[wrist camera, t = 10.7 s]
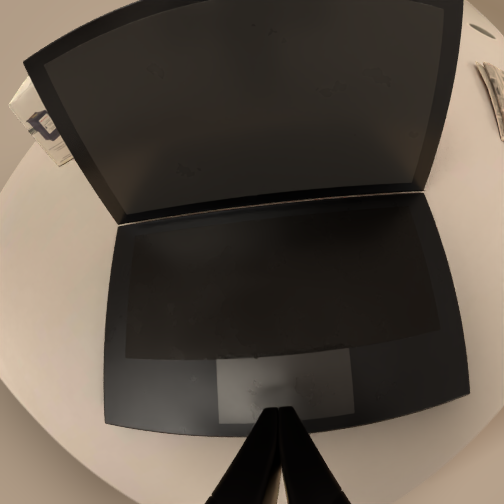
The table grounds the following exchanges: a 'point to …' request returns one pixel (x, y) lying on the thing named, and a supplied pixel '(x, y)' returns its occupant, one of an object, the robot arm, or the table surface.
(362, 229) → the laptop
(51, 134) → the ink box
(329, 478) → the robot arm
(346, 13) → the laptop screen
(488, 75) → the newspaper
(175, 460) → the table surface
